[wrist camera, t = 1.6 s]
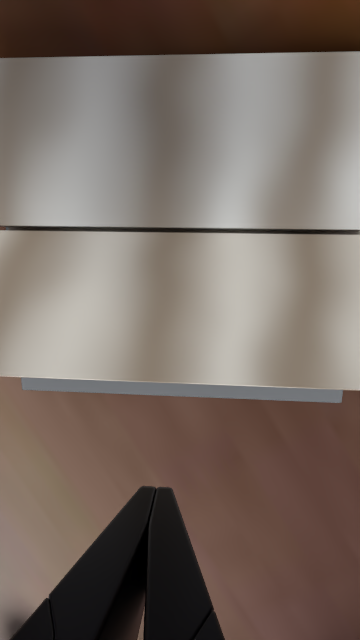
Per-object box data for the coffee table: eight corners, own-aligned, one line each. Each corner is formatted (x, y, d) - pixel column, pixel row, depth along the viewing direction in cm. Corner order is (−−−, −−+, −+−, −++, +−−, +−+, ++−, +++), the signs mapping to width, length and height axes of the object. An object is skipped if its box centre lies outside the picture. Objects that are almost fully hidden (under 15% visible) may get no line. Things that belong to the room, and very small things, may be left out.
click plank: (352, 252, 16) (372, 235, 14) (365, 390, 14) (389, 390, 13) (16, 246, 17) (-5, 230, 15) (-6, 376, 15) (-32, 374, 14)
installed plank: (375, 75, 14) (400, 50, 12) (353, 242, 16) (373, 240, 14) (1, 81, 15) (-25, 58, 13) (15, 237, 17) (-6, 235, 15)
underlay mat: (380, 71, 15) (388, 63, 14) (336, 398, 18) (341, 402, 18) (-3, 76, 16) (-10, 69, 15) (27, 385, 19) (22, 389, 19)
